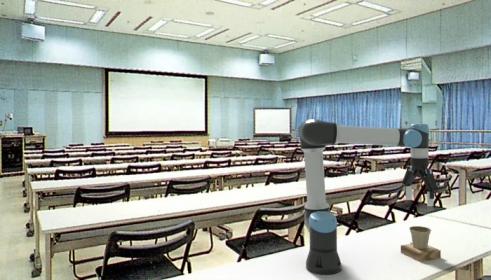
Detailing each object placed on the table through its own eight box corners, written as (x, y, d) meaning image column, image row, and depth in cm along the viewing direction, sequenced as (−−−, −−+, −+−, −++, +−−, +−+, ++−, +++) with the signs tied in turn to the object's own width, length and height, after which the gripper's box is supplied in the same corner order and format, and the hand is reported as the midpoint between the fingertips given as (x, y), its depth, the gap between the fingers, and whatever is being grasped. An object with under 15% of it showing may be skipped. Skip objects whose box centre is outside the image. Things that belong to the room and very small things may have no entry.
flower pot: (433, 251, 171) (433, 232, 171) (411, 250, 173) (411, 231, 173) (428, 244, 180) (428, 226, 180) (407, 243, 182) (407, 225, 182)
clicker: (416, 249, 185) (416, 245, 185) (410, 249, 186) (410, 245, 186) (415, 246, 190) (415, 242, 190) (410, 246, 191) (410, 241, 191)
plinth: (419, 261, 170) (419, 253, 169) (400, 252, 181) (400, 244, 181) (440, 257, 173) (440, 249, 173) (421, 249, 185) (421, 241, 184)
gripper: (447, 159, 164) (447, 208, 165) (407, 154, 188) (406, 196, 189) (433, 160, 162) (433, 209, 163) (394, 155, 185) (394, 198, 187)
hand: (419, 202), depth 176 cm, fingers open, 13 cm apart
